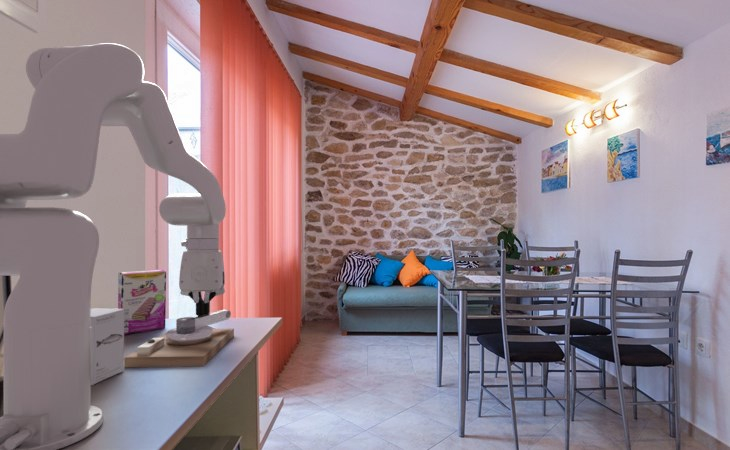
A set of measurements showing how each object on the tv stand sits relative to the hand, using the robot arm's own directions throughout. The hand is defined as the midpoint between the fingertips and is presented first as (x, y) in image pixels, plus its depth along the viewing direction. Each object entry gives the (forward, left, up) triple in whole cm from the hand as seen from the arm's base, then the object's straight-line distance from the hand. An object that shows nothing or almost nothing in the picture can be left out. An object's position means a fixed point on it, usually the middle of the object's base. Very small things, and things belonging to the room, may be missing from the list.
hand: (202, 317), depth 100 cm
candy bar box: (+10, +20, -6) cm, 23 cm away
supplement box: (-24, +12, -6) cm, 27 cm away
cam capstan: (-3, -1, -3) cm, 5 cm away
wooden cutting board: (-8, +1, -6) cm, 10 cm away
